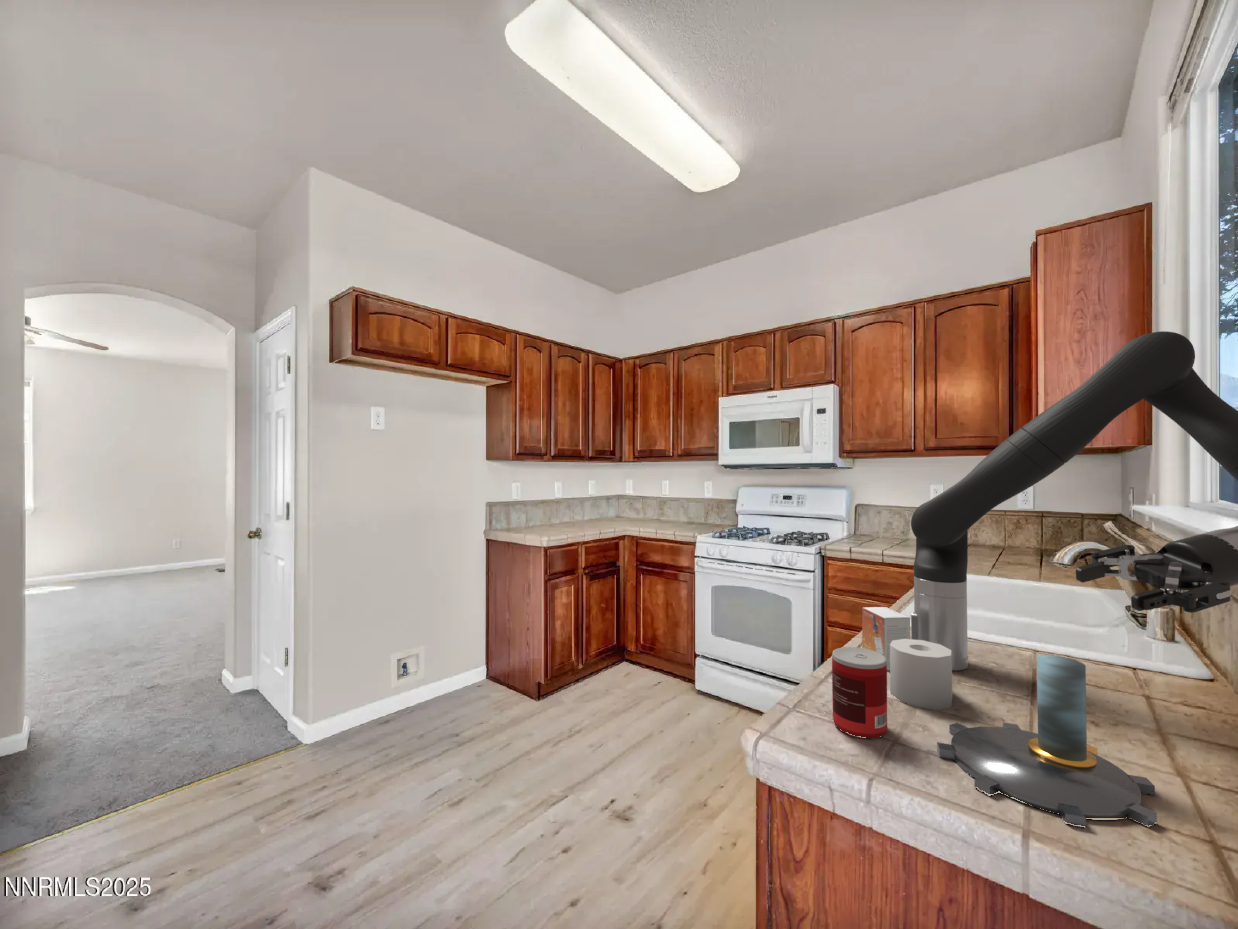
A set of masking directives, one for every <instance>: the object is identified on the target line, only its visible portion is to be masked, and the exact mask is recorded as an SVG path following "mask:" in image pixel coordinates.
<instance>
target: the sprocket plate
mask: <svg viewBox="0 0 1238 929" xmlns="http://www.w3.org/2000/svg"><path fill="white" fill-rule="evenodd" d="M948 726H949V730H948V731H949V734H950V733H951V734H950V735H952V734H953V736H952V737H951V744H950V743H949V744H948V743H944V742H943V743H942V742H936V744H937V745H936V752H937V754H938V757H939V758H940V757H941V759H945V758H948V759H947V760H951V759H954V760H953V761H954V762H955V761H956V762H957V763H958V764H957V763H956V762H955V763H956V764H957V765H958V766H960V767H961V768H960V767H959V768H960V769H961V770H962V771H963V772H965V773H966V774H967V773H968V774H970V775H971V776H972V777H974V778H975V779H974V778H973V779H974V788H975V787H978V788H979V789H980V790H983V791H985V792H986V793H988V794H994V793H996V792H998V791H1000V792H1001V793H1003V794H1006V795H1008V796H1009V797H1014V798H1016V799H1018V800H1020V801H1023V802H1025V803H1027V804H1030V805H1032V806H1034V807H1037V808H1041V809H1044V810H1047V811H1051V812H1054V813H1059V814H1060V815H1061V817H1062V818H1063V820H1064V821H1065V822H1067V823H1071V824H1074V825H1081V826H1086V827H1087V821H1086V818H1126V817H1127V819H1128V818H1132V819H1134V820H1136V821H1138V822H1140V823H1143V824H1144V825H1148V826H1149V825H1153V824H1154V823H1155V822H1157V823H1158V813H1157V812H1156V811H1153V810H1151V809H1149V808H1148V807H1144V806H1143V805H1142V795H1147V794H1150V795H1149V796H1154V795H1155V796H1156V794H1155V793H1156V787H1155V785H1154V784H1153V783H1152V781H1150V779H1148V778H1147V777H1144V776H1137V775H1133V774H1128V773H1127V772H1126V771H1125V770H1123V769H1122V768H1120V767H1118V766H1117V765H1116V764H1114V763H1112V762H1111V761H1109V760H1108V759H1106V758H1104V757H1102V756H1100V755H1098V747H1095V746H1092V745H1090V744H1087V759H1086V760H1085V761H1069V760H1064V759H1060V758H1057V757H1055V756H1052V755H1050V754H1048V753H1046V752H1044V751H1043V750H1041V749H1040V748H1039V746H1038V732H1032V731H1028V730H1023V729H1021V728H1020V726H1019V725H1018V724H1016V723H1009V722H1002V726H988V725H987V726H974V727H972V726H971V727H967V726H966V725H963V724H961V723H959V722H955V723H952V724H948ZM968 774H967V775H968ZM970 775H969V776H970ZM971 776H970V777H971ZM972 777H971V778H972ZM1142 793H1143V794H1142ZM1155 796H1154V797H1155ZM1034 807H1033V808H1034ZM1037 808H1036V809H1037ZM1047 811H1046V812H1047ZM1051 812H1050V813H1051ZM1054 813H1053V814H1054ZM1061 817H1060V818H1061ZM1063 820H1062V821H1063Z"/></svg>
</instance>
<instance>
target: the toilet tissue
mask: <svg viewBox="0 0 1238 929" xmlns="http://www.w3.org/2000/svg"><path fill="white" fill-rule="evenodd" d="M889 674H890V675H889V676H890V677H889V678H890V679H889V682H890V683H889V685H890V687H889V688H890V695H891V696H892V695H893V696H892V697H894V696H895V697H896V698H897V699H899V700H900V701H899V700H898V701H899V702H900V703H903V702H905V703H904V704H906V703H907V705H909V706H913V707H915V708H918V709H925V710H926V709H927V710H935V711H939V710H944V709H949V708H952V704H953V703H952V702H953V670H952V653H951V650H950V649H948V648H946V647H944V646H942V645H940V644H936V643H932V642H928V641H924V640H913V639H911V638H910V639H900V640H893V641H892V642H891V644H890V670H889ZM895 697H894V698H895ZM896 698H895V699H896ZM897 699H896V700H897Z"/></svg>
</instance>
